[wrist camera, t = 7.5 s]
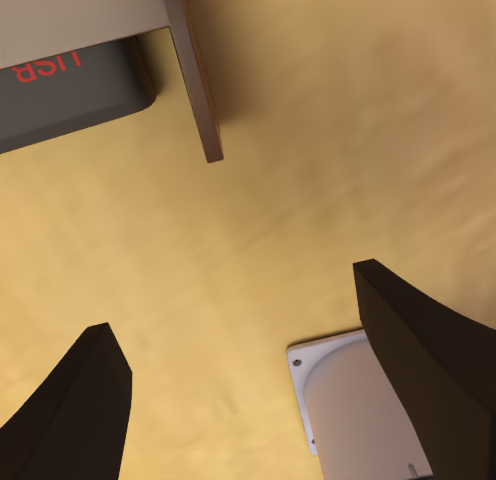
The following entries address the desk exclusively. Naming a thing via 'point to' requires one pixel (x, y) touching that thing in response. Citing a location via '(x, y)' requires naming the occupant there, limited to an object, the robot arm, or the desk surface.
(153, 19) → the display stand
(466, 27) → the desk surface
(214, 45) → the desk surface
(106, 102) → the usb drive
